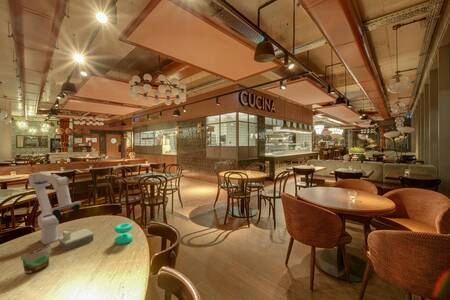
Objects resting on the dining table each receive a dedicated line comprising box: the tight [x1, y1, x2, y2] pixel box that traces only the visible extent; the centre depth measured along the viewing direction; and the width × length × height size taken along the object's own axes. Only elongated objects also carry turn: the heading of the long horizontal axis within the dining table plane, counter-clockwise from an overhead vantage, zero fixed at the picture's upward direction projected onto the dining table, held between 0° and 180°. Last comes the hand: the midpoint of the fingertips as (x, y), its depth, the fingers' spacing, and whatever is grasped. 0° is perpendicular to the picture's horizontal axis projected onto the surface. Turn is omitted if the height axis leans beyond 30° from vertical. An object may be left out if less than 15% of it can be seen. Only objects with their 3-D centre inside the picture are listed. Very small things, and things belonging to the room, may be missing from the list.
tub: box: [58, 235, 94, 251], centre depth 127 cm, size 11×14×4 cm
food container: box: [20, 243, 52, 275], centre depth 101 cm, size 12×6×10 cm, turn 168°
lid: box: [57, 228, 95, 245], centre depth 127 cm, size 12×15×6 cm
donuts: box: [114, 222, 134, 245], centre depth 128 cm, size 10×10×10 cm
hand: (68, 220), depth 118 cm, fingers open, 7 cm apart
